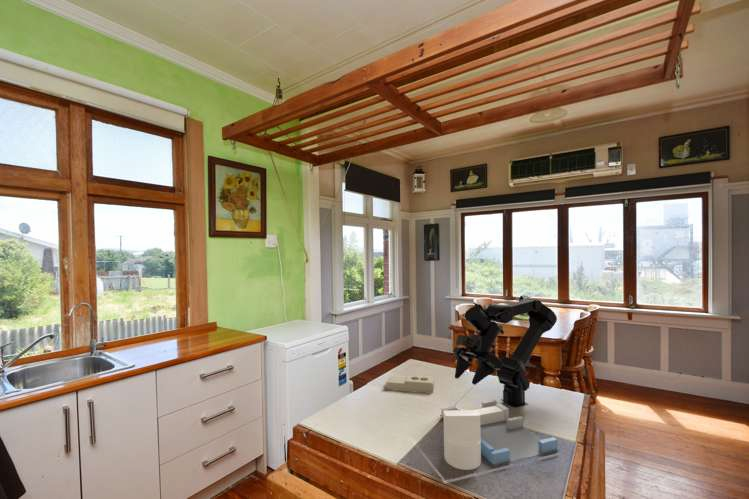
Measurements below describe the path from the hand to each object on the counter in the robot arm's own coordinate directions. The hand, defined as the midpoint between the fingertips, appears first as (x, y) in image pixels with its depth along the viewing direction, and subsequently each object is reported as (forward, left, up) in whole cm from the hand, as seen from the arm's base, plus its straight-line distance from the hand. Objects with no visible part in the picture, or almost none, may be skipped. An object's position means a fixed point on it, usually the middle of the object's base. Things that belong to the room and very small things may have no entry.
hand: (464, 380), depth 103 cm
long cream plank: (-4, +3, -12) cm, 13 cm away
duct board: (-4, +9, -13) cm, 16 cm away
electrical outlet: (+5, -30, -13) cm, 33 cm away
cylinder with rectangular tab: (+12, +17, -13) cm, 24 cm away
